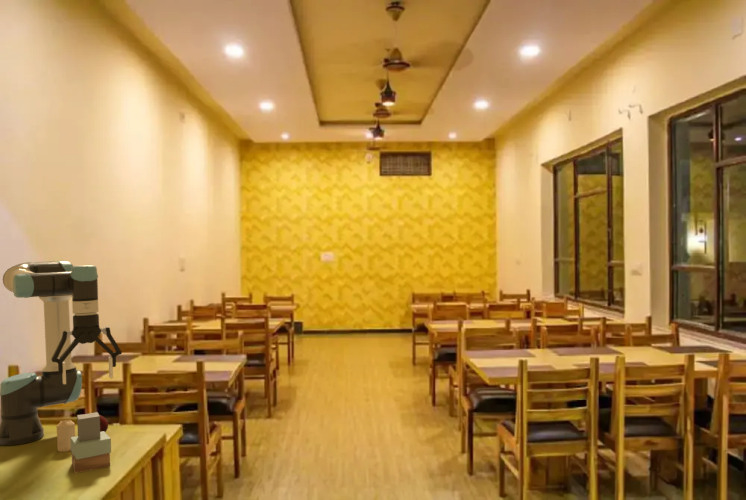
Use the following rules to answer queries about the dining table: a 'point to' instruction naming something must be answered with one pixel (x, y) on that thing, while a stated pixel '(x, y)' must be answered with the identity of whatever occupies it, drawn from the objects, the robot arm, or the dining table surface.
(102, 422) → the apple
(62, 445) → the beige bottle
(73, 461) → the tower base
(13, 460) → the dining table surface
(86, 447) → the tower top
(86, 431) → the block
